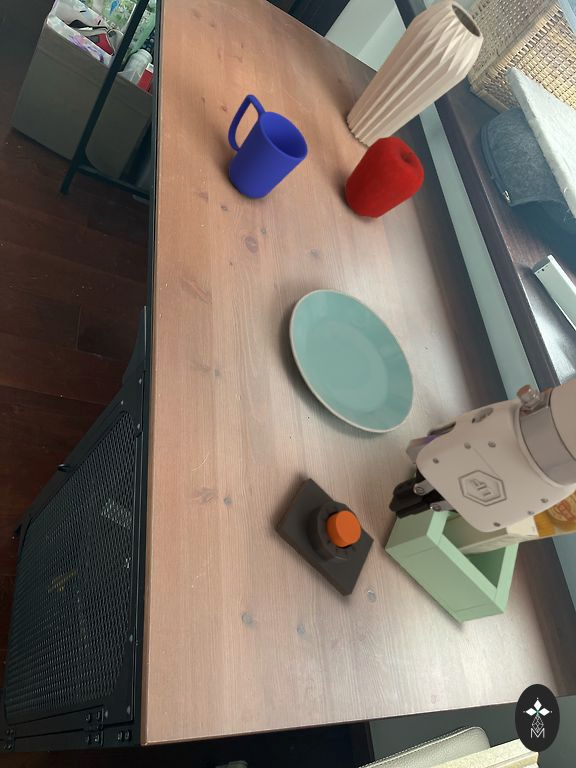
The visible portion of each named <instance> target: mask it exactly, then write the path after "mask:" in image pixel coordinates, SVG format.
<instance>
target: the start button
mask: <svg viewBox="0 0 576 768" xmlns="http://www.w3.org/2000/svg"><path fill="white" fill-rule="evenodd" d="M357 518H358V517H357ZM357 518H356V517H355V516H354V515H353V514H352V513H351V512H349V511H341V512H339V513H337V514H334V515H332V516H330V517H329V518H328V520H327V523H326V532H327V534H328V537H329V539H330V540H331V542H332V543H333V544H335V545H336V546H339V547H344V546H347V545H349V544H352V543H355V542H356V541H357V540H358V539H359V537H360V534H361V528H360V525H361V523H360V521H359V519H358V520H357ZM358 521H359V522H358ZM359 523H360V524H359Z"/></svg>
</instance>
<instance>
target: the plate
mask: <svg viewBox="0 0 576 768" xmlns="http://www.w3.org/2000/svg"><path fill="white" fill-rule="evenodd" d="M288 331H289V332H288V334H289V344H290V348H291V352H292V356H293V359H294V362H295V364H296V367H297V369H298V372H299V373H300V376H301V377H302V379H303V381H304V383H305V384H306V386H307V387H308V389H309V390H310V391H311V393H312V394H313V396H315V398H316V400H318V401H319V403H321V405H323V406H324V407H325V408H326V409H327V410H328V411H329V412H330V413H331V414H333V415H334V416H335V417H336V418H338V419H340V420H341V421H342V422H345V424H347V425H349V426H352V427H354V428H357V429H359V430H362V431H366V432H370V433H379V434H383V433H391V432H392V431H395V430H397V429H399V428H400V427H402V426H403V425H404V424H405V423H406V421H408V419H409V417H410V415H411V413H412V410H413V408H414V403H415V393H416V392H415V391H416V390H415V381H414V375H413V372H412V367H411V365H410V361H409V359H408V357H407V355H406V353H405V351H404V349H403V347H402V345H401V343H400V342H399V340H398V338H397V337H396V335H395V334H394V332H393V331H392V330H391V328H390V327H389V325H388V324H387V323H386V322H385V321H384V319H383V318H381V316H380V315H378V313H376V311H375V310H373V309H372V308H371V307H369V305H367V304H366V303H364V302H363V301H362V300H360V299H358V298H356V297H354V296H352V295H350V294H348V293H346V292H343V291H340V290H335V289H327V288H324V289H323V288H321V289H315V290H312V291H309V292H307V293H306V294H304V295H302V296H301V297H300V298H299V299H298V301H297V302H296V304H294V307H293V309H292V312H291V314H290V318H289V327H288Z"/></svg>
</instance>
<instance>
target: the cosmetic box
mask: <svg viewBox="0 0 576 768" xmlns="http://www.w3.org/2000/svg"><path fill="white" fill-rule="evenodd" d="M442 534H443V535H444V536H445V537H446V538H447V539H448V540H449V541H450V542H451V543H452V544H453V545H454V546H455V547H456V548H457V549H458V550H459V551H460V552H461V553H462V554H463V555H464V556H465V557H466V558H468V557H471V556H475V555H478V554H482V553H485V552H489V551H492V550H495V549H499V548H503V547H506V546H509V545H513V544H516V543H519V544H520V543H523V542H528V541H527V540H529V541H531V540H530V539H534V538H537V537H539V534H538V531H537V527H536V524H535V520H534V517H533V516H532V517H530V518H527V519H525V520H523V521H520V522H518V523H515V524H513V525H510V526H507V527H504V528H502V529H499V530H495V531H491V532H482V531H479V530H478V529H476V528H474V527H473V526H472V525H470V524H469V523H468V522H467V521H466V520H465V519H464V518H463V517H462V516H461V515H460V514H458V513H456V514H454V515H451V516H448V517H447V519H446V522H445V525H444V528H443V531H442Z"/></svg>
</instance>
